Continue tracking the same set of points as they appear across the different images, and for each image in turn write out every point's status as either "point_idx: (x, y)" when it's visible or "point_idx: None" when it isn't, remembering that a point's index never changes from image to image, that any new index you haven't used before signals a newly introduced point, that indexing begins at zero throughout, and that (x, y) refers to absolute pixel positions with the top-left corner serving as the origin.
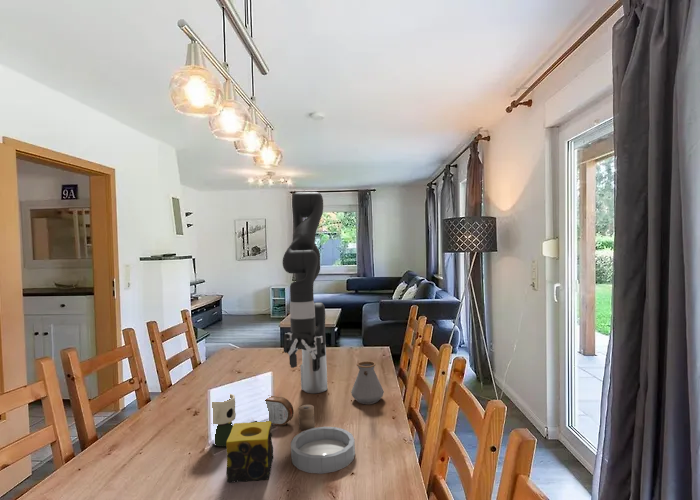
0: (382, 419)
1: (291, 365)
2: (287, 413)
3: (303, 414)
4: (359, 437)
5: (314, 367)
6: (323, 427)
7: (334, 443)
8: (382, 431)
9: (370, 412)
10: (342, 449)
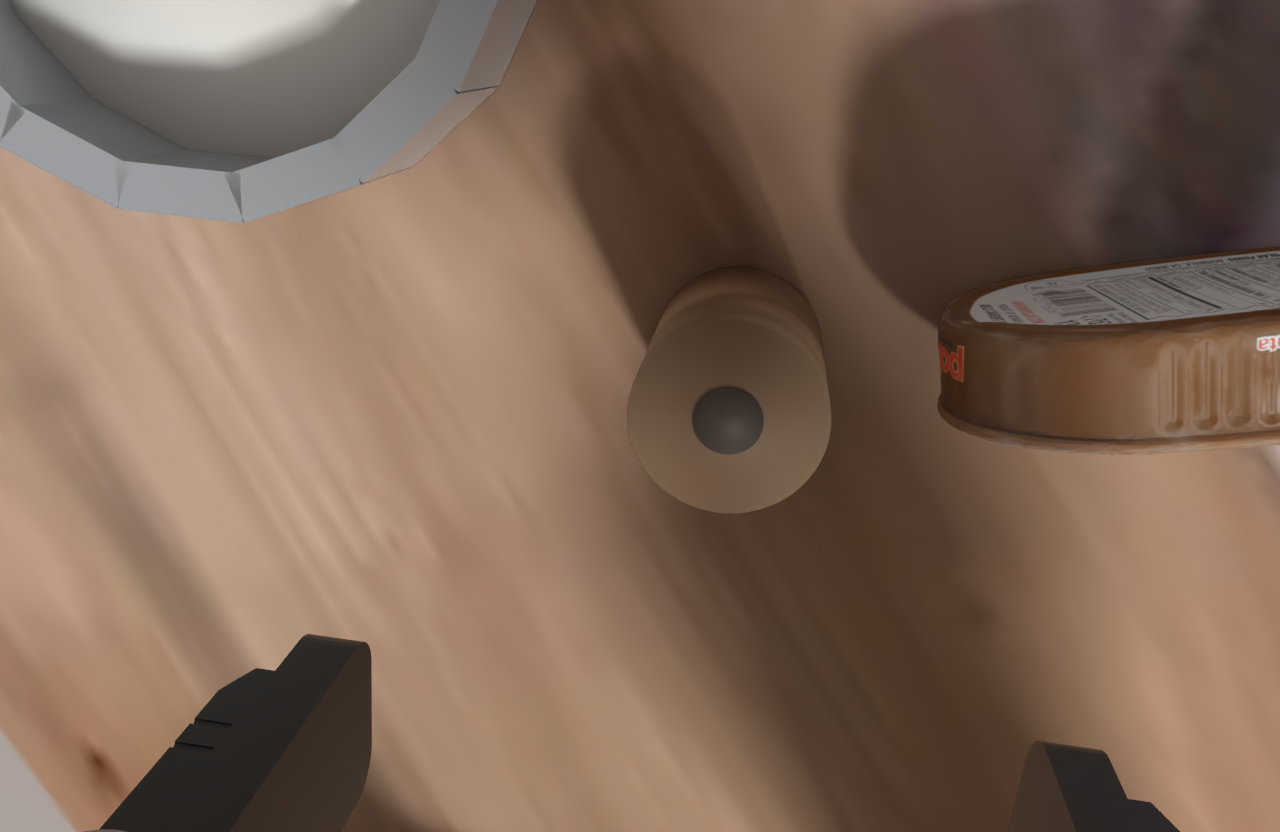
0: (163, 714)
1: (1081, 769)
2: (978, 319)
3: (714, 311)
4: (148, 340)
5: (269, 683)
6: (352, 163)
7: (233, 88)
8: (40, 511)
9: None
10: (94, 7)
